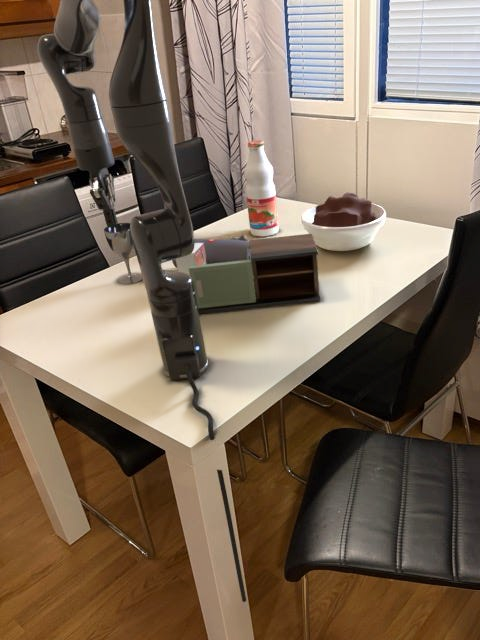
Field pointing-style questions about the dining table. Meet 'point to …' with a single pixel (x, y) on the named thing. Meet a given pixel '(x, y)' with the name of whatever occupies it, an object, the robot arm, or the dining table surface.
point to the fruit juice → (260, 192)
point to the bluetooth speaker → (224, 250)
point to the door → (223, 283)
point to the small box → (192, 258)
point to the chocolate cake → (343, 222)
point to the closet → (284, 268)
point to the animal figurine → (239, 238)
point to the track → (271, 301)
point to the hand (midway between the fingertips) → (112, 225)
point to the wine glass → (122, 248)
